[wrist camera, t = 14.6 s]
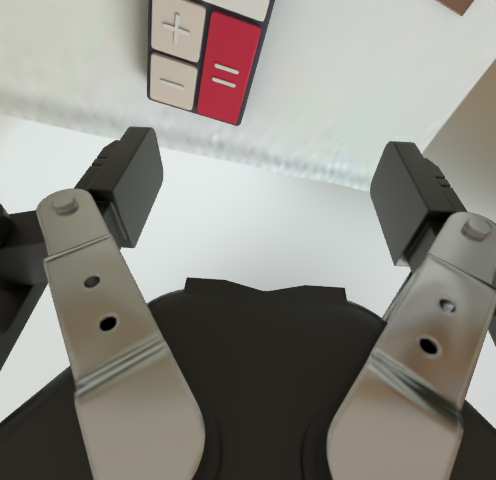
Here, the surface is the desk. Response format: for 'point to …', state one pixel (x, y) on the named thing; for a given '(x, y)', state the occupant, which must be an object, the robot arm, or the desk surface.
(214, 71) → the calculator
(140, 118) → the desk surface
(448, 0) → the coaster
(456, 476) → the robot arm
